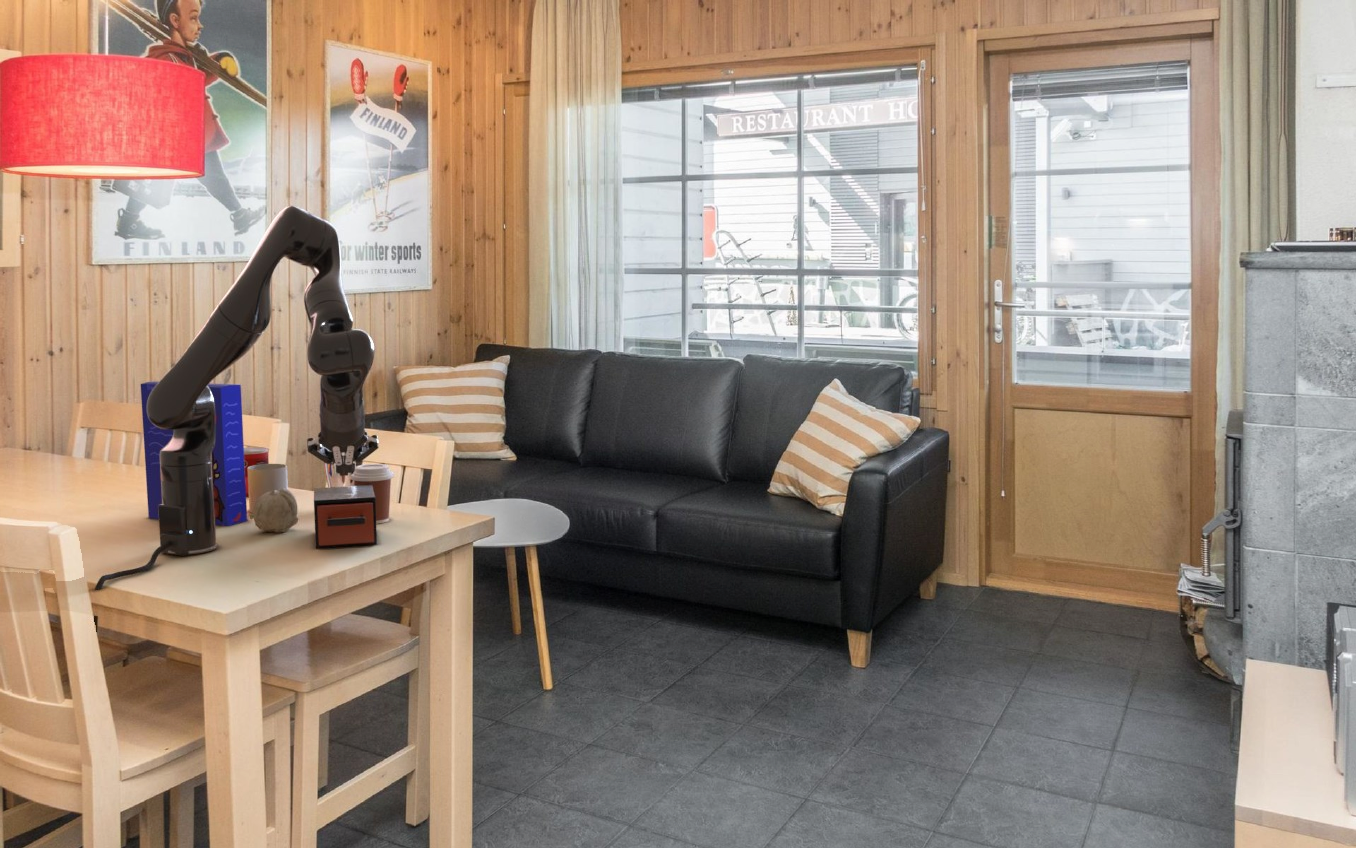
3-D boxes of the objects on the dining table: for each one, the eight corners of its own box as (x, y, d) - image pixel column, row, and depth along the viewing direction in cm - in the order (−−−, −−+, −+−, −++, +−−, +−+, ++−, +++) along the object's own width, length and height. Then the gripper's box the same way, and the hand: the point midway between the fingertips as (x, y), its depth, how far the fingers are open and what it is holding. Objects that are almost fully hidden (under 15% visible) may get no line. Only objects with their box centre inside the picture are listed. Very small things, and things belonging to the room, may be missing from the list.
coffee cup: (378, 514, 253) (376, 461, 252) (404, 520, 247) (402, 466, 246) (343, 521, 246) (341, 467, 245) (368, 527, 240) (366, 471, 239)
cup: (241, 511, 256) (239, 468, 255) (270, 505, 263) (268, 462, 262) (268, 515, 252) (266, 471, 251) (296, 508, 259) (294, 465, 258)
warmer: (376, 544, 225) (375, 497, 224) (315, 548, 222) (313, 500, 220) (373, 529, 238) (372, 485, 237) (315, 533, 235) (314, 488, 233)
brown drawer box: (375, 547, 219) (373, 508, 218) (318, 551, 216) (317, 511, 215) (371, 528, 235) (369, 491, 234) (318, 532, 232) (317, 494, 231)
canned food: (234, 492, 279) (231, 448, 277) (268, 489, 282) (266, 446, 281) (236, 497, 272) (233, 452, 270) (271, 495, 275) (269, 450, 274)
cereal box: (247, 520, 247) (240, 383, 243) (227, 526, 241) (220, 386, 238) (169, 512, 255) (161, 380, 251) (148, 518, 249) (140, 382, 245)
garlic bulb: (294, 538, 240) (309, 493, 241) (286, 541, 232) (301, 494, 233) (250, 526, 239) (265, 480, 240) (241, 528, 231) (256, 481, 232)
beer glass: (348, 512, 255) (345, 446, 253) (320, 511, 257) (317, 445, 255) (362, 506, 262) (360, 442, 260) (335, 505, 263) (332, 441, 261)
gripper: (379, 396, 202) (378, 454, 216) (302, 399, 198) (306, 457, 212) (382, 429, 198) (381, 486, 211) (303, 433, 194) (307, 490, 207)
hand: (343, 471), depth 211 cm, fingers closed
